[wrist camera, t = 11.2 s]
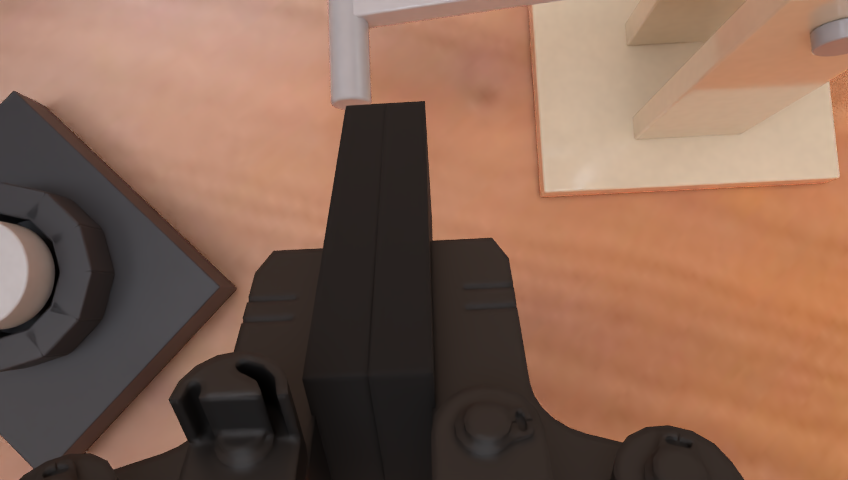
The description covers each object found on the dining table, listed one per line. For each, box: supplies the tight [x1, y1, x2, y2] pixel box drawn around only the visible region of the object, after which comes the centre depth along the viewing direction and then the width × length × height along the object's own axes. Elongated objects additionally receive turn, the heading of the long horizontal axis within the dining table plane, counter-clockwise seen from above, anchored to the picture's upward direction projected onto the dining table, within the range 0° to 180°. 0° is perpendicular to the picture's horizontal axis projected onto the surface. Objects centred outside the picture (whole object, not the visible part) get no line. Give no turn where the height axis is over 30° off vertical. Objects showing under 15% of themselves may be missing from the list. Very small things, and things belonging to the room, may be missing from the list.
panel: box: [0, 91, 236, 469], centre depth 27 cm, size 12×10×4 cm
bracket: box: [528, 0, 848, 197], centre depth 22 cm, size 12×9×14 cm
